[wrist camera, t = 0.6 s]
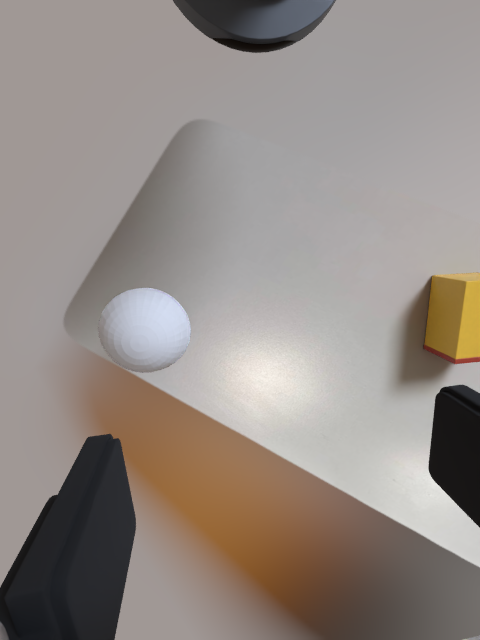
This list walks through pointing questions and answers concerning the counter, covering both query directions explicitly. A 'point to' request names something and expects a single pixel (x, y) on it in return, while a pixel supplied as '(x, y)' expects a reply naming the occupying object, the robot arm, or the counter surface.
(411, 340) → the counter surface
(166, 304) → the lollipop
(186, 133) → the counter surface
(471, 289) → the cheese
